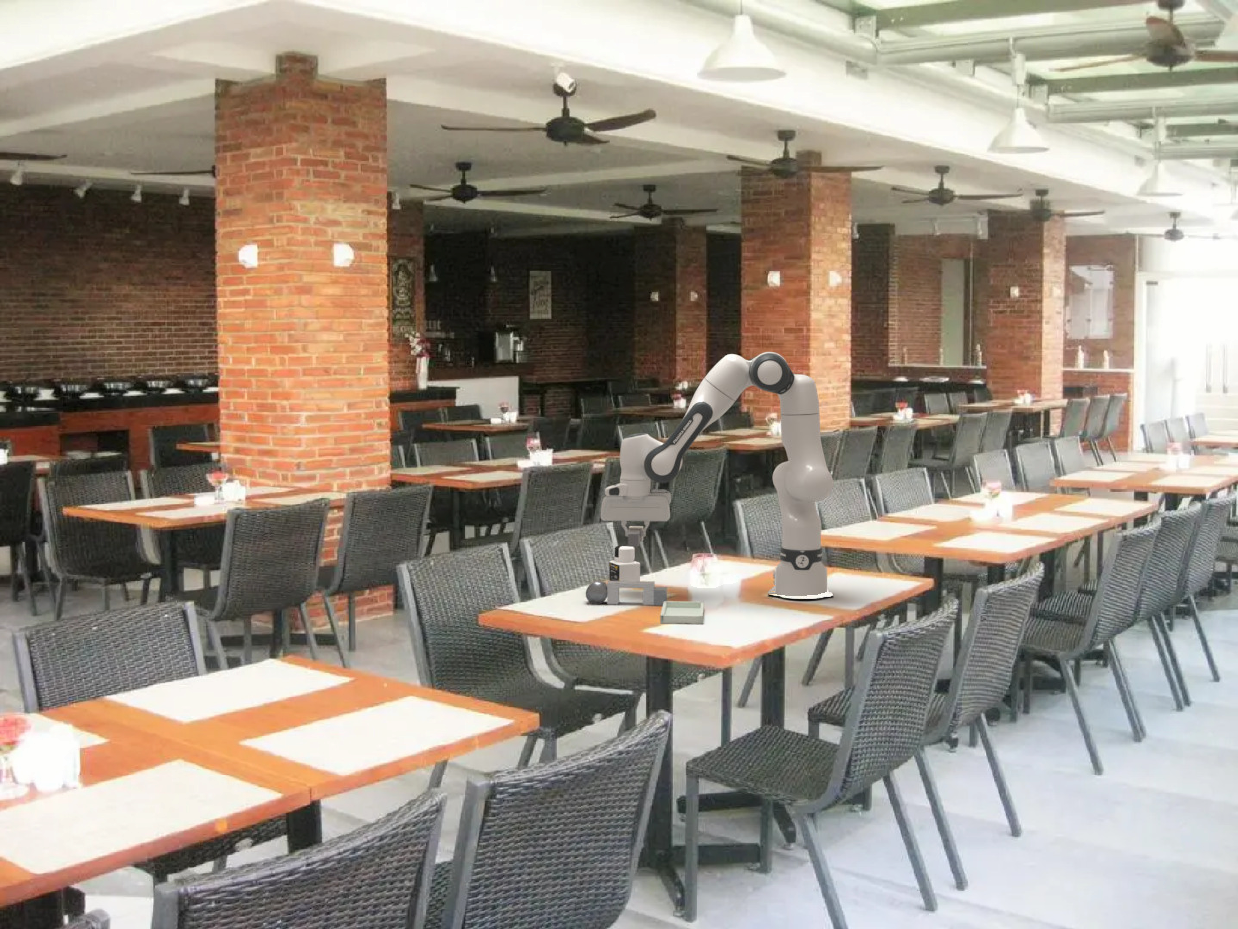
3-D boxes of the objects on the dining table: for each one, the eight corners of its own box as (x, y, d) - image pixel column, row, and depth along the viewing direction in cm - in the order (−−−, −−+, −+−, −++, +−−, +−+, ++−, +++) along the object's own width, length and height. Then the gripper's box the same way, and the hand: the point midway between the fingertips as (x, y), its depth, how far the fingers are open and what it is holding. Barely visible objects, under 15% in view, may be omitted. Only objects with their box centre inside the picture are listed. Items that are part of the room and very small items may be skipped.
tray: (663, 608, 366) (663, 601, 366) (703, 609, 365) (703, 601, 365) (660, 623, 346) (660, 615, 346) (702, 624, 345) (702, 616, 345)
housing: (587, 601, 376) (587, 580, 376) (667, 602, 374) (667, 581, 374) (585, 604, 371) (585, 583, 371) (666, 605, 370) (666, 584, 369)
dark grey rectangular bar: (629, 539, 392) (629, 526, 392) (643, 539, 392) (643, 526, 392) (626, 546, 379) (626, 532, 378) (640, 546, 378) (640, 532, 378)
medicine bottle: (608, 584, 404) (609, 544, 403) (630, 582, 407) (630, 543, 406) (618, 587, 397) (618, 548, 396) (640, 586, 400) (640, 546, 399)
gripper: (671, 488, 388) (671, 535, 390) (601, 487, 390) (602, 534, 391) (670, 490, 382) (670, 538, 383) (599, 490, 384) (599, 537, 385)
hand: (635, 536), depth 387 cm, fingers closed on dark grey rectangular bar, 3 cm apart
